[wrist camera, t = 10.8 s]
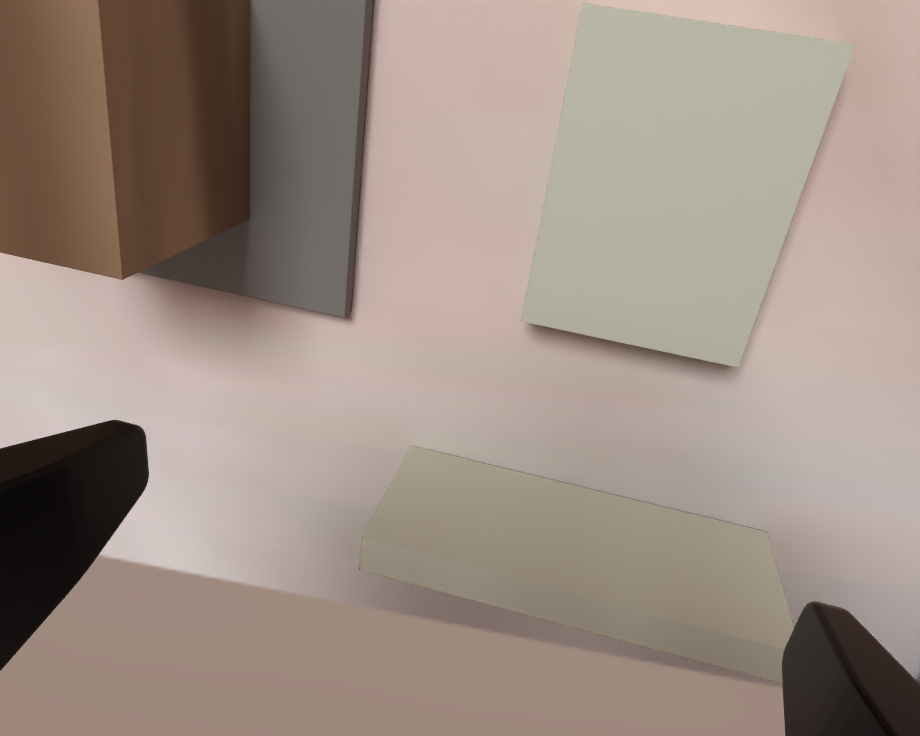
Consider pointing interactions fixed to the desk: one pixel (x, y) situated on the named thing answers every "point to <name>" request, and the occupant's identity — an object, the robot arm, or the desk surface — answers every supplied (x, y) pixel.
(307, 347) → the desk surface
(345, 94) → the rubber mat
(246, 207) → the walnut block
